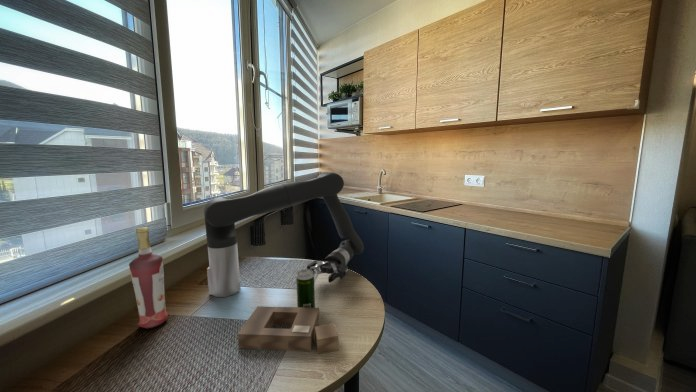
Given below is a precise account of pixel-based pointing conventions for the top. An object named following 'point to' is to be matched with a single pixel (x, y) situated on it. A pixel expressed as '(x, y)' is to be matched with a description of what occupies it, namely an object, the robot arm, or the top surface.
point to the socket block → (265, 337)
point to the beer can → (305, 289)
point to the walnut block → (326, 338)
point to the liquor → (148, 283)
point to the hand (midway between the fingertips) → (317, 277)
